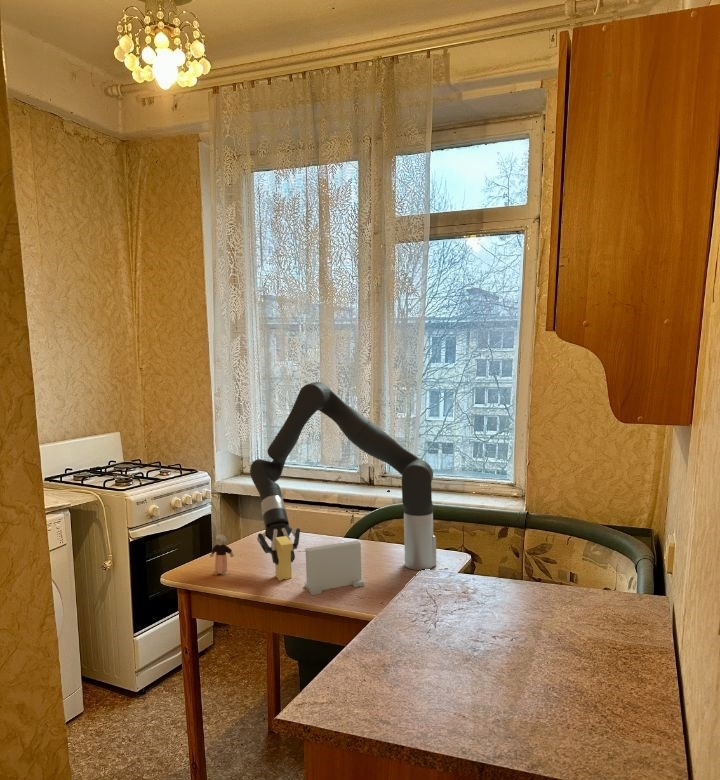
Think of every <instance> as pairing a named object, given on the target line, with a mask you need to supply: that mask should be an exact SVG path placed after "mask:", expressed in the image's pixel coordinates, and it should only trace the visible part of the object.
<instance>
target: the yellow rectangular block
mask: <svg viewBox="0 0 720 780" xmlns="http://www.w3.org/2000/svg"><path fill="white" fill-rule="evenodd" d="M275 539H276V545H275V546H276V551H277V556H278V560H279V563H278V565H275V564H274V567H275V577H276V578H278V579H277V580H278V581H282V580H283V579H285V580H289V578H291V579H292V577H293V576H292V563H291V551H292V550H293V544H294V542H292V541H290V540H291V539H290V540H289V539H288V537H287V536H283V537H276V538H275ZM283 581H284V580H283Z"/></svg>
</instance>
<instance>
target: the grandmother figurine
mask: <svg viewBox="0 0 720 780" xmlns="http://www.w3.org/2000/svg"><path fill="white" fill-rule="evenodd" d="M227 540H228V539H227V537H226V536H225V535H224V534H223V533H218V534H216V535H215V542H216V545H214V546H213V547H212V549H211V552H210V555H209V557H210V558H214V559H215V560H214V561H215V564H214V566H215V567H214V571H213V573H212V575H213V574H214V575H213V576H216V575H217V574H218V575H219V574H220V576H226V574H227V575H228V573H229V572H228V558H227V557H228V556H227V554H228V555H229V556H230V558H234V556H235V555H234V553H233V550H232V548H230V547H229V546H228V545H225V542H226V541H227ZM214 555H215V557H214ZM218 575H217V576H218Z"/></svg>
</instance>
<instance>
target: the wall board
mask: <svg viewBox="0 0 720 780" xmlns="http://www.w3.org/2000/svg"><path fill="white" fill-rule="evenodd" d="M343 542H344V543H341V542H336V543H337V544H334V543H331V544H326V545H317V546H312V547H305V572H306V573H305V574H306V581H305V582H304V587H305V588H306V589H307V591H308V593H310V595H311V596H315V595H321V594H322V592H323V591H325V590H332V589H336V588H341V587H342V586H343V587H348V586H352V587H354V588H360V587H363V586H364V587H365V581H364V580H363V579H362V548H361V547H362V543H361V542H360V541H359V540H352V541H343ZM359 586H360V587H359ZM343 587H342V588H343ZM331 588H332V589H331Z"/></svg>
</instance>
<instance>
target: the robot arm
mask: <svg viewBox="0 0 720 780" xmlns="http://www.w3.org/2000/svg"><path fill="white" fill-rule="evenodd" d="M318 411H319V412H320V413H322V414H324V415H325V416H326V417H328V418H329V419H331V420H332V421H333V422H334V423H335V424H336V425H337V426H338V427H339V429H340V431H342V433H343V434H344V436H345V437H346V438H347V439H348V440H349V441H350V442H351V443H352V444H354V445H355V446H356V447H357V448H359V450H361V451H363V452H364V453H365V454H367V455H369V456H371V457H372V458H374V459H376V460H380V462H381V461H382V462H384V463H386V464H387V465H389V467H390V466H391V467H392V468H393V469H394V470H395V471H397V472H398V473H399V474H400V475H401V500H402V506H403V530H404V531H403V532H404V533H403V535H404V537H403V539H404V566H405V567H406V568H407V569H411V570H415V571H423V570H422V569H426V570H430V569H431V568H433V567H436V566H437V537H436V535H434V506H433V500H432V499H433V498H432V497H433V496H432V481H433V478H434V471H433V469H432V466H431V465H430V464H429V463H428V462H427V461H425V460H423V459H422V458H420V457H419V456H417V455H415V454H414V453H412V452H410V451H409V450H408V449H406V448H404V446H402V445H401V444H399V443H398V442H397V441H396V440H395V439H394V438H393V437H391V436H390V435H389V434H388V433H386V432H385V431H384V430H383V429H381V428H380V427H379V426H378V425H377V424H375V423H374V422H373V421H371V420H370V419H369V418H367V417H366V416H364V414H361V413H360V412H359V411H358V410H356V409H355V408H353V407H352V406H351V405H348V404H347V403H346V402H345V401H344V400H343V399H342V398H341V397H339V396H338V395H337V394H336V393H335V392H334V391H333V390H332V389H331V388H330V387H329V386H328V385H326V384H325V383H323V382H319V381H315V382H311V383H307V384H305V385H303V386H302V387H301V388H300V390H299V392H298V394H297V397H296V399H295V402H294V404H293V406H292V409H291V411H290V413H289V414H288V416H287V418H286V420H285V421H284V423H283V425H282V426H281V428H280V430H279V431H278V433H277V434H276V436H275V437H274V439H273V440H272V441H271V443H270V445H269V446H268V448H267V454H268V457H270V458H271V459H272V461H269V460H266V459H262V458H257V459H256V460H253V461H252V463H251V465H250V467H249V475H250V479H251V481H252V483H253V484H254V487H255V488H256V490H257V492H258V495H259V499H260V504H261V515H262V519H263V523H264V528H265V529H264V530H265V531H264V532H263V533H258V535H257V541H258V543H259V545H260V547H261V548H262V550H263V552H264V553H265V554H268V553H269V554H270V555H271V559H272V563H273V564H274V566H275V565H278V563H279V560H278V556H277V551H276V546H275V545H276V539H275V538H276V537H283V536H287V537H288V539H289V540H290V541H291V537H290V535H291V534H292V536H293V537H294V540H293V550H292V551H291V564H293V563H294V561H295V558H296V556H295V555H296V554H295V551H294V550H297V549H298V546H299V541H300V536H301V535H300V533H301V528H295V529H294V528H292V527H291V525H290V523H289V518H288V514H287V509H286V505H285V501H284V499H283V495H282V491H281V487H280V485H279V484H278V483H277V481H278V480H279V479H280V478H281V477H282V473H283V471H284V467H285V464H286V461H287V459H288V457H289V456H290V454H291V452H292V451H293V449H294V448H295V446H296V444H297V442H298V441H299V438H300V435H301V433H302V431H303V429H304V428H305V427H304V426H305V425H306V424H307V422H308V421H309V420H310V418H312V417H313V416H314V414H315V413H316V412H318ZM266 538H267V539H268V540H270V542H271V546H269V544H268V542H267V541H266ZM291 542H292V541H291Z"/></svg>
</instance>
